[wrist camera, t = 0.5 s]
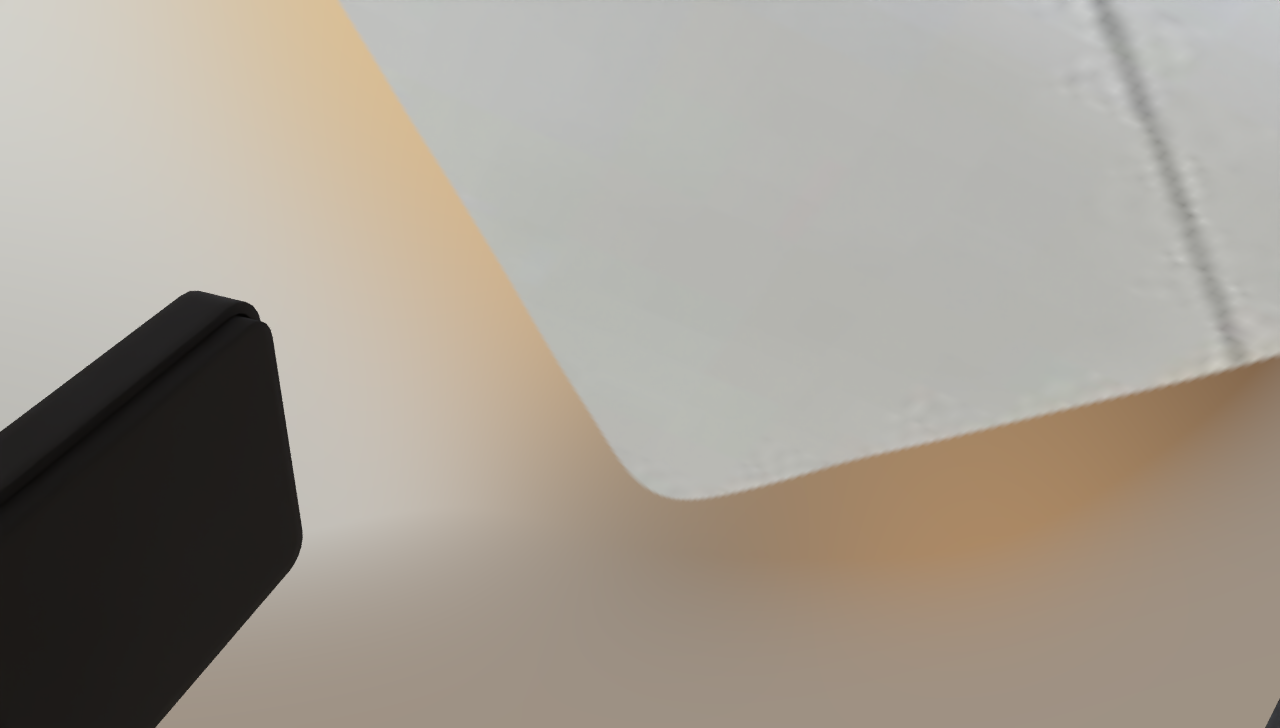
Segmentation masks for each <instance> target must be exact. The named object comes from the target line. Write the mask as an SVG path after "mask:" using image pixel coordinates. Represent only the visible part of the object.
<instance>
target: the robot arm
mask: <svg viewBox="0 0 1280 728" xmlns="http://www.w3.org/2000/svg"><path fill="white" fill-rule="evenodd" d="M302 538H303V537H302V526H301V519H300V512H299V505H298V499H297V493H296V486H295V480H294V473H293V466H292V460H291V453H290V447H289V441H288V434H287V428H286V421H285V415H284V408H283V402H282V395H281V389H280V382H279V376H278V369H277V363H276V357H275V350H274V343H273V337H272V333H271V330H270V328H269V327H268V326H267V324H266V323H264V322H261V321H260V318H259V314H258V312H257V311H256V309H255V308H254V307H253V306H252V305H250V304H248V303H246V302H243V301H239V300H235V299H231V298H226V297H222V296H218V295H214V294H210V293H206V292H201V291H189V292H187V293H186V294H183V295H181V296H180V297H179V298H177V299H176V300H175V301H173V302H172V303H171V304H169V305H168V306H167V307H165V308H164V309H163V310H161V311H160V312H159V313H157V314H156V315H155V316H153V317H152V318H151V319H149V320H148V321H147V322H145V323H144V324H143V325H141V327H139V328H137V329H136V330H135V331H134V332H132V333H131V334H130V335H128V336H127V337H126V338H124V339H123V340H122V341H120V342H119V343H118V344H116V345H115V346H114V347H112V348H111V349H110V350H108V351H107V352H106V353H104V354H103V355H102V356H100V357H99V358H98V359H96V360H95V361H94V362H92V363H91V364H90V365H88V366H87V367H86V368H84V369H83V370H82V371H81V372H79V373H78V374H76V375H75V376H74V377H72V378H71V379H70V380H68V381H67V382H66V383H65V384H63V385H62V386H60V387H59V388H58V389H57V390H55V391H54V392H53V393H51V394H50V395H49V396H47V397H46V398H45V399H43V400H42V401H41V402H39V403H38V404H37V405H35V406H34V407H33V408H31V409H30V410H29V411H27V412H26V413H25V414H23V415H22V416H21V417H19V418H18V419H17V420H15V421H14V422H13V423H11V424H10V425H9V426H7V428H5V429H3V430H2V431H1V432H0V728H155V727H156V726H157V725H158V724H159V723H160V721H161V720H162V719H163V718H164V717H165V716H166V714H167V713H168V712H169V711H170V710H171V709H172V707H173V706H174V705H175V704H176V702H178V700H179V699H180V698H181V697H182V696H183V695H184V693H185V692H186V691H187V690H188V689H189V688H190V686H191V685H192V684H193V683H194V682H195V680H196V679H197V678H198V677H199V676H200V675H201V674H202V672H203V671H204V670H205V669H206V668H207V667H208V665H209V664H210V663H211V662H212V661H213V660H214V658H215V657H216V656H217V655H218V654H219V653H220V651H221V650H222V649H223V648H224V647H225V646H226V644H227V643H228V642H229V641H230V640H231V639H232V637H233V636H234V635H235V634H236V632H237V631H238V630H239V629H240V628H241V627H242V626H243V624H244V623H245V622H246V621H247V620H248V619H249V617H250V616H251V615H252V614H253V613H254V611H255V610H256V609H257V608H258V607H259V605H261V603H262V602H263V601H264V600H265V599H266V598H267V596H268V595H269V594H270V593H271V592H272V590H273V589H274V588H275V587H276V586H277V585H278V584H279V582H280V581H281V580H282V579H283V578H284V577H285V575H286V574H287V573H288V572H289V571H290V569H291V568H292V566H293V565H294V563H295V561H296V559H297V557H298V555H299V552H300V549H301V545H302ZM1265 728H1280V699H1279V701H1278V703H1277V705H1276V707H1275V709H1274V711H1273V713H1272V715H1271V717H1270V719H1269V721H1268V724H1267V725H1266V727H1265Z"/></svg>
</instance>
